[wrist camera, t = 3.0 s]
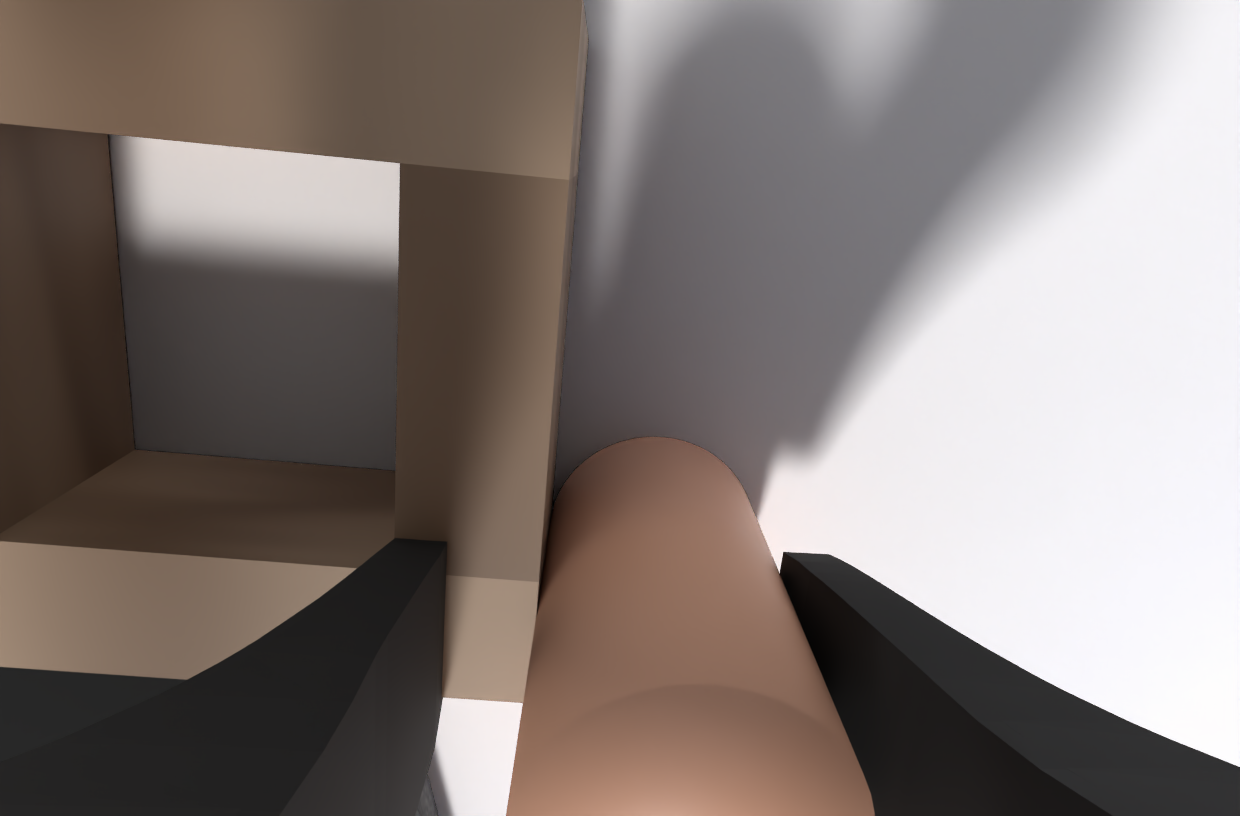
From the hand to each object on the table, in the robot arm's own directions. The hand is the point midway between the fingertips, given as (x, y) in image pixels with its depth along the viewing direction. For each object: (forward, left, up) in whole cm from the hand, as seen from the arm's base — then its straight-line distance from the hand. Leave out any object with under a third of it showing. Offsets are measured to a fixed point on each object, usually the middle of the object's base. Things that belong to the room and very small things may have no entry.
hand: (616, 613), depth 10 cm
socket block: (+5, -3, -2) cm, 6 cm away
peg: (-1, 0, -2) cm, 2 cm away
